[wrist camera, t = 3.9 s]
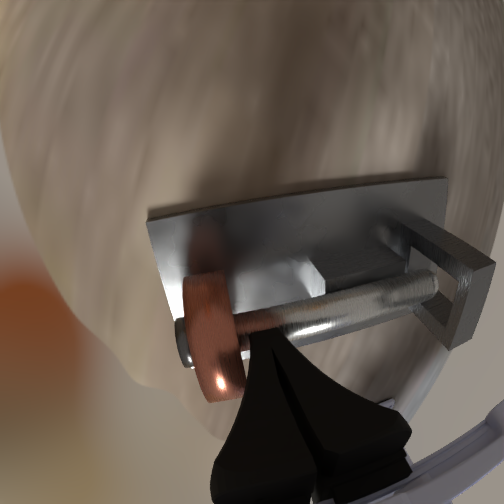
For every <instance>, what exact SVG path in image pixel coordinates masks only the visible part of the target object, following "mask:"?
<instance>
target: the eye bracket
mask: <svg viewBox="0 0 504 504" xmlns="http://www.w3.org/2000/svg"><path fill="white" fill-rule="evenodd" d="M447 190H448V178H446V177H443V176H442V177H430V178H418V179H407V180H396V181H387V182H377V183H368V184H359V185H351V186H343V187H335V188H327V189H320V190H312V191H305V192H298V193H291V194H284V195H278V196H271V197H265V198H259V199H253V200H247V201H241V202H235V203H229V204H223V205H218V206H212V207H207V208H201V209H196V210H191V211H186V212H181V213H176V214H170V215H166V216H161V217H156V218H151V219H147V221H146V226H147V229H148V233H149V237H150V241H151V245H152V248H153V252H154V255H155V259H156V263H157V266H158V269H159V273H160V276H161V280H162V283H163V286H164V289H165V293H166V296H167V299H168V302H169V305H170V308H171V311H172V314H173V317H174V320H175V319H176V318H179V317H184V311H183V300H182V283H183V278H184V277H186V276H192V275H197V274H202V273H208V272H213V271H218V270H224V274H225V279H226V284H227V289H228V294H229V299H230V304H231V309H232V313H233V314H237V313H242V312H247V311H252V310H257V309H262V308H266V307H271V306H276V305H280V304H285V303H290V302H294V301H299V300H303V299H307V298H312V297H316V296H320V295H324V294H329V293H333V292H337V291H341V290H345V289H349V288H353V287H357V286H361V285H364V284H368V283H372V282H376V281H380V280H383V279H387V278H391V277H394V276H398V275H401V274H405V273H408V272H412V271H415V270H419V269H429V270H431V271H433V272H434V273H435V274H436V272H437V267H438V266H439V267H441V268H442V269H443V270H444V271H446V272H447V273H448V274H450V275H451V276H452V277H454V278H455V279H456V280H457V281H459V284H458V288H457V291H456V295H455V299H454V302H453V303H452V302H450V301H449V300H448V299H447V298H446V297H445V296H444V295H442V294H441V293H440V292H439V291H438V290H437V293H436V294H435V295H434V297H432V298H431V299H429V300H427V301H424V302H421V303H418V304H415V305H413V306H410V307H407V308H404V309H401V310H398V311H395V312H392V313H389V314H386V315H383V316H380V317H376V318H373V319H370V320H367V321H363V322H360V323H357V324H353V325H350V326H346V327H343V328H339V329H336V330H332V331H329V332H325V333H321V334H317V335H313V336H310V337H306V338H302V339H297V340H293V341H290V342H291V343H292V344H293V345H294V346H295V347H300V346H304V345H308V344H312V343H316V342H320V341H323V340H327V339H331V338H334V337H338V336H341V335H345V334H348V333H351V332H355V331H358V330H361V329H365V328H368V327H371V326H374V325H377V324H380V323H383V322H386V321H389V320H392V319H395V318H398V317H401V316H404V315H407V314H410V313H412V312H413V313H414V314H415V315H416V316H417V317H418V318H419V319H420V320H421V321H422V322H423V324H424V325H425V326H426V327H427V328H428V329H429V330H430V331H431V332H432V333H433V334H434V335H435V336H436V337H437V339H438V340H439V341H440V342H441V343H442V344H443V345H444V346H445V347H446V349H447V350H448V351H449V350H451V349H453V348H455V347H457V346H459V345H461V344H463V343H465V342H467V341H468V340H470V339H472V336H473V334H474V331H475V328H476V326H477V323H478V321H479V318H480V315H481V312H482V309H483V306H484V303H485V300H486V297H487V294H488V291H489V288H490V284H491V280H492V277H493V273H494V270H495V266H496V262H495V261H493V260H492V259H491V258H489V257H488V256H486V255H484V254H483V253H481V252H480V251H478V250H477V249H475V248H474V247H472V246H470V245H469V244H467V243H466V242H464V241H462V240H461V239H459V238H457V237H456V236H454V235H453V234H451V233H449V232H447V231H446V230H444V221H445V213H446V202H447ZM241 356H242V359H247V358H250V350H248V351H243V352H241ZM191 368H194V367H191Z"/></svg>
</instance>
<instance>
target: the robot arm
mask: <svg viewBox="0 0 504 504" xmlns="http://www.w3.org/2000/svg"><path fill="white" fill-rule="evenodd" d="M249 341H250V360H249V370H248V376H247V381H246V386H245V390H244V394H243V398H242V401H241V405H240V408H239V411H238V414H237V416H236V419H235V422H234V424H233V426H232V429H231V431H230V433H229V435H228V437H227V440H226V442H225V444H224V445H223V447H222V449H221V451H220V452H219V454H218V456H217V458H216V459H215V461H214V465H213V469H212V474H211V480H210V491H211V497H212V501H213V503H214V504H310V499H311V497H312V501H313V504H452V501H451V500H453V499H454V498H456V497H457V496H459V495H460V494H462V493H463V492H464V491H466V490H467V489H468V488H470V487H471V486H473V485H474V484H475V483H477V482H478V481H479V480H481V479H482V478H483V477H484V476H486V475H487V474H488V473H489V472H491V471H492V470H493V469H494V468H495V467H496V466H498V465H499V464H500V463H501V462H502V461H503V460H504V400H503V401H501V402H500V403H499V404H498V405H496V406H495V407H494V408H493V409H492V410H491V411H490V412H489V414H488V415H487V416H486V418H485V420H483V421H482V422H480V423H479V424H478V425H476V426H475V427H474V428H472V429H471V430H469V431H468V432H466V433H465V434H463V435H462V436H460V437H459V438H457V439H456V440H454V441H453V442H451V443H449V444H448V445H446V446H445V447H443V448H441V449H440V450H438V451H436V452H435V453H433V454H431V455H429V456H427V457H426V458H424V459H422V460H420V461H418V462H417V463H414V464H413V462H412V461H411V459H410V457H409V455H408V454H407V452H406V450H405V448H404V446H405V445H406V443H407V442H408V440H409V438H410V436H411V433H412V430H411V428H410V426H409V424H408V423H407V421H406V420H405V419H404V418H403V417H402V415H401V414H400V413H399V412H398V411H396V410H393V409H392V408H393V406H394V403H395V400H394V399H390V400H387V401H385V402H382V403H380V404H376V403H374V402H372V401H369V400H367V399H365V398H363V397H361V396H359V395H357V394H355V393H354V392H352V391H350V390H348V389H346V388H345V387H343V386H341V385H340V384H338V383H337V382H335V381H334V380H332V379H331V378H330V377H328V376H327V375H325V374H324V373H323V372H322V371H320V370H319V369H318V368H317V367H316V366H314V365H313V364H312V363H311V362H310V361H309V360H308V359H307V358H306V357H305V356H304V355H303V354H302V353H300V352H299V351H298V349H297V348H296V347H295V346H294V345H293V344H292V343H291V342H290V341H289V340H288V338H287V337H286V336H285V335H284V333H283V332H282V331H281V329H280V328H278V327H276V328H271V329H267V330H262V331H257V332H252V333H250V334H249Z"/></svg>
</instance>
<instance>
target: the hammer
mask: <svg viewBox="0 0 504 504" xmlns="http://www.w3.org/2000/svg"><path fill="white" fill-rule="evenodd" d="M438 287H439V282H438V278H437V276H436V274H435V273H434V272H433V271H431V270H429V269H419V270H415V271H412V272H408V273H405V274H401V275H398V276H394V277H391V278H387V279H383V280H380V281H376V282H372V283H368V284H364V285H361V286H357V287H353V288H349V289H345V290H341V291H337V292H333V293H329V294H324V295H320V296H316V297H312V298H307V299H303V300H299V301H294V302H290V303H285V304H280V305H276V306H271V307H266V308H262V309H257V310H252V311H247V312H242V313H237V314H233V313H232V309H231V304H230V299H229V294H228V289H227V284H226V279H225V274H224V270H218V271H213V272H208V273H202V274H197V275H192V276H186V277H184V278H183V283H182V300H183V311H184V317H179V318H176V319H175V337H176V343H177V348H178V352H179V355H180V358H181V361H182V363H183V365H184V367H185V368H190V367H194V368H195V372H196V375H197V378H198V381H199V384H200V387H201V390H202V392H203V394H204V396H205V398H206V400H207V401H208V402H209V403H214V402H220V401H226V400H232V399H237V398H242V397H243V394H244V390H245V386H246V381H247V380H246V375H245V370H244V366H243V361H242V356H241V352H243V351H248V350H250V341H249V334H250V333H252V332H257V331H262V330H267V329H271V328H276V327H278V328H280V329H281V331H282V332H283V333H284V335H285V336H286V337H287V338H288V340H289V341H293V340H297V339H302V338H306V337H310V336H313V335H317V334H321V333H325V332H329V331H332V330H336V329H339V328H343V327H346V326H350V325H353V324H357V323H360V322H363V321H367V320H370V319H373V318H376V317H380V316H383V315H386V314H389V313H392V312H395V311H398V310H401V309H404V308H407V307H410V306H413V305H415V304H418V303H421V302H424V301H427V300H429V299H431V298H432V297H434V295H435V294H436V293H437V290H438Z"/></svg>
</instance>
